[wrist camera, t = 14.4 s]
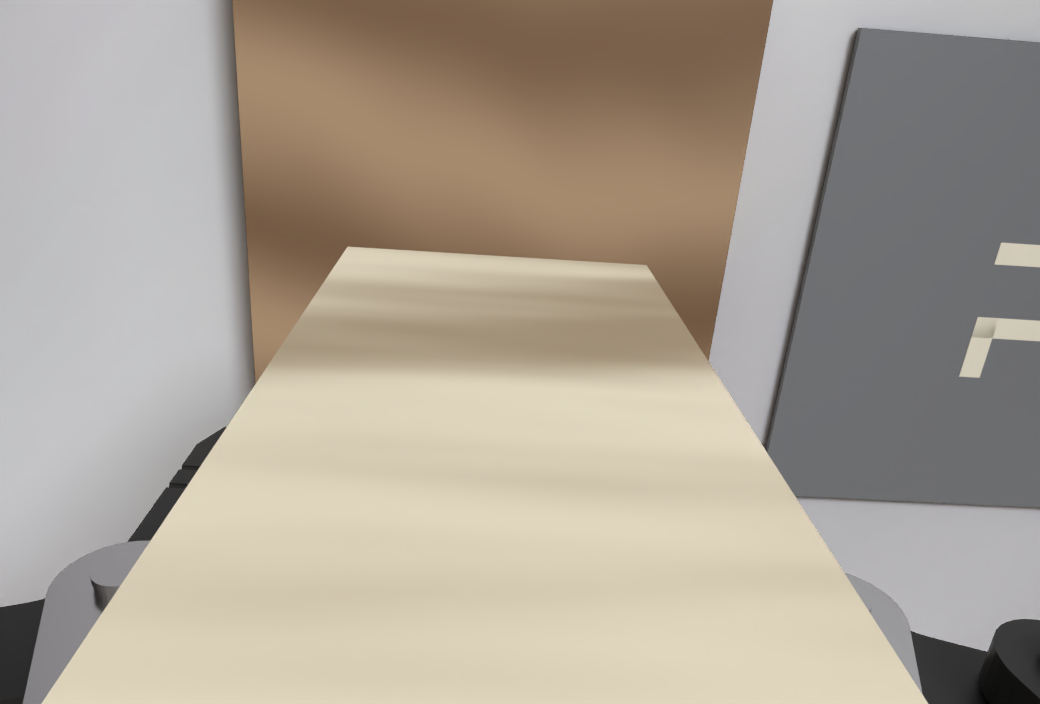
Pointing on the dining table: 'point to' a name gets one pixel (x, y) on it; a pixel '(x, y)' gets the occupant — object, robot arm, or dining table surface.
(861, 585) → the robot arm
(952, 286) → the tile
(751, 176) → the dining table surface
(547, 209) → the walnut board
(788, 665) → the birch block
